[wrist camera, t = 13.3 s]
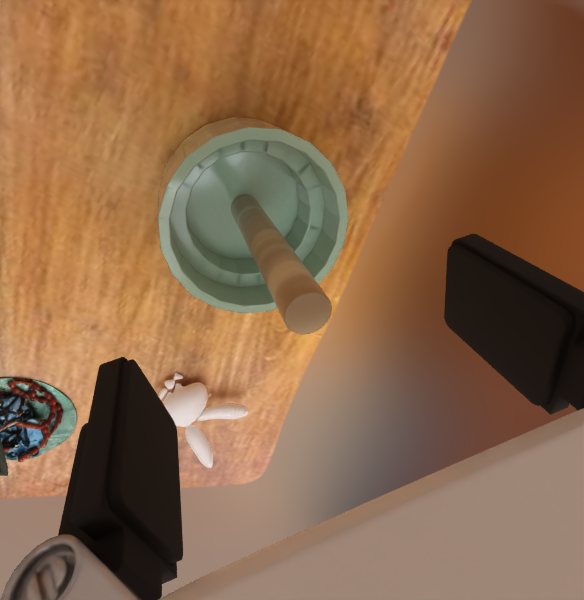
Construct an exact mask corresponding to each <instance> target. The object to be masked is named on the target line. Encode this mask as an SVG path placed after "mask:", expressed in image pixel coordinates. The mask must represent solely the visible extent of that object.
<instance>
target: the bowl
mask: <svg viewBox="0 0 584 600" xmlns="http://www.w3.org/2000/svg"><path fill="white" fill-rule="evenodd" d="M243 194H248V195H251V196H253V197H254V198H255V199H256V200H257V201H258V203H259V204H260V205H261V207H262V208H263V210H264V211H265V212H266V214H267V215H268V216H269V218H270V219H271V221H272V222H273V223H274V225H275V226H276V227H277V229H278V230H279V231H280V233H281V234H282V236H283V237H284V238H285V240H286V241H287V242H288V244H289V245H290V246H291V248H292V249H293V251H294V252H295V253H296V255H297V256H298V257H299V259H300V260H301V262H302V263H303V264H304V266H305V267H306V268H307V270H308V271H309V272H310V274H311V275H312V277H313V278H314V279H315V281H316V282H317V283H318V284H319V283H320V282H321V280H322V279H323V278H324V277H325V276H326V275H327V274H328V272H329V271H330V270H331V269H332V268H333V266H334V263H335V261H336V259H337V257H338V255H339V253H340V251H341V249H342V247H343V244H344V241H345V235H346V229H347V224H348V210H347V202H346V194H345V189H344V187H343V185H342V183H341V181H340V179H339V177H338V174H337V172H336V170H335V168H334V166H333V165H332V163H331V162H330V161H329V160H328V159H327V158H326V157H325V156H324V155H323V154H322V153H321V152H320V151H319V150H318V149H317V148H316V147H315V146H314V145H313V144H312V143H310V142H309V141H306V140H304V139H302V138H300V137H298V136H296V135H294V134H292V133H290V132H287V131H285V130H283V129H281V128H279V127H277V126H274V125H272V124H270V123H268V122H266V121H263V120H260V119H250V118H238V117H231V118H227V119H224V120H220V121H217V122H213V123H210V124H206V125H204V126H203V127H201V128H200V129H198V130H197V131H196V132H194V133H193V134H192V135H190V136H189V137H187V138H186V139H185V140H183V141H182V142H181V143H180V145H179V146H178V148H177V149H176V151H175V152H174V154H173V155H172V157H171V158H170V159H169V161H168V162H167V164H166V166H165V169H164V173H163V177H162V181H161V185H160V189H159V199H158V228H159V239H160V248H161V251H162V253H163V255H164V257H165V260H166V262H167V264H168V266H169V268H170V270H171V273H172V275H173V276H174V277H175V278H176V279H177V280H178V281H179V282H180V283H181V284H182V285H183V286H184V287H185V288H186V289H187V290H188V292H189V293H190V294H191V295H193V296H194V297H196V298H198V299H200V300H202V301H204V302H205V303H207V304H209V305H211V306H213V307H215V308H218V309H223V310H228V311H233V312H238V313H255V312H268V311H271V310H274V309H277V306H276V304H275V302H274V300H273V298H272V296H271V293H270V291H269V289H268V287H267V285H266V283H265V281H264V279H263V277H262V275H261V273H260V271H259V269H258V267H257V265H256V263H255V261H254V258H253V256H252V254H251V252H250V250H249V248H248V246H247V244H246V242H245V240H244V238H243V236H242V234H241V232H240V230H239V228H238V225H237V223H236V221H235V219H234V217H233V215H232V213H231V204H232V202H233V200H234V199H235V198H236V197H238V196H239V195H243Z"/></svg>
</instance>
